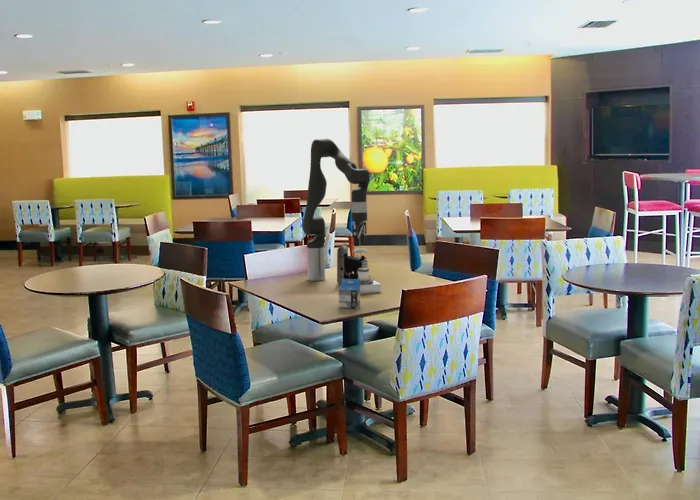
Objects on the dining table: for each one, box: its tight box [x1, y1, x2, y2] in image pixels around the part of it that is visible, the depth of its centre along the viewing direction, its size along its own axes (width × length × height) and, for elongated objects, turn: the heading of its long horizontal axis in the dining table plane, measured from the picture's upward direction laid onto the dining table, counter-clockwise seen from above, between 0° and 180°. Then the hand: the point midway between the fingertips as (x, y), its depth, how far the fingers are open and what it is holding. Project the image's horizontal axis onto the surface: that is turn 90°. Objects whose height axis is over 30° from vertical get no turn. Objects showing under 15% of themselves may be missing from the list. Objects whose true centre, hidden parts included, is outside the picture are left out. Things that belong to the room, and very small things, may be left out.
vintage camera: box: [336, 243, 366, 286], centre depth 360 cm, size 10×16×20 cm, turn 78°
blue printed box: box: [338, 279, 361, 310], centre depth 306 cm, size 9×4×12 cm, turn 69°
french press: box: [352, 247, 371, 277], centre depth 380 cm, size 10×12×25 cm
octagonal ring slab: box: [348, 278, 382, 295], centre depth 340 cm, size 9×15×6 cm, turn 106°
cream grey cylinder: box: [357, 267, 370, 282], centre depth 340 cm, size 5×5×7 cm
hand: (359, 244), depth 339 cm, fingers open, 8 cm apart
